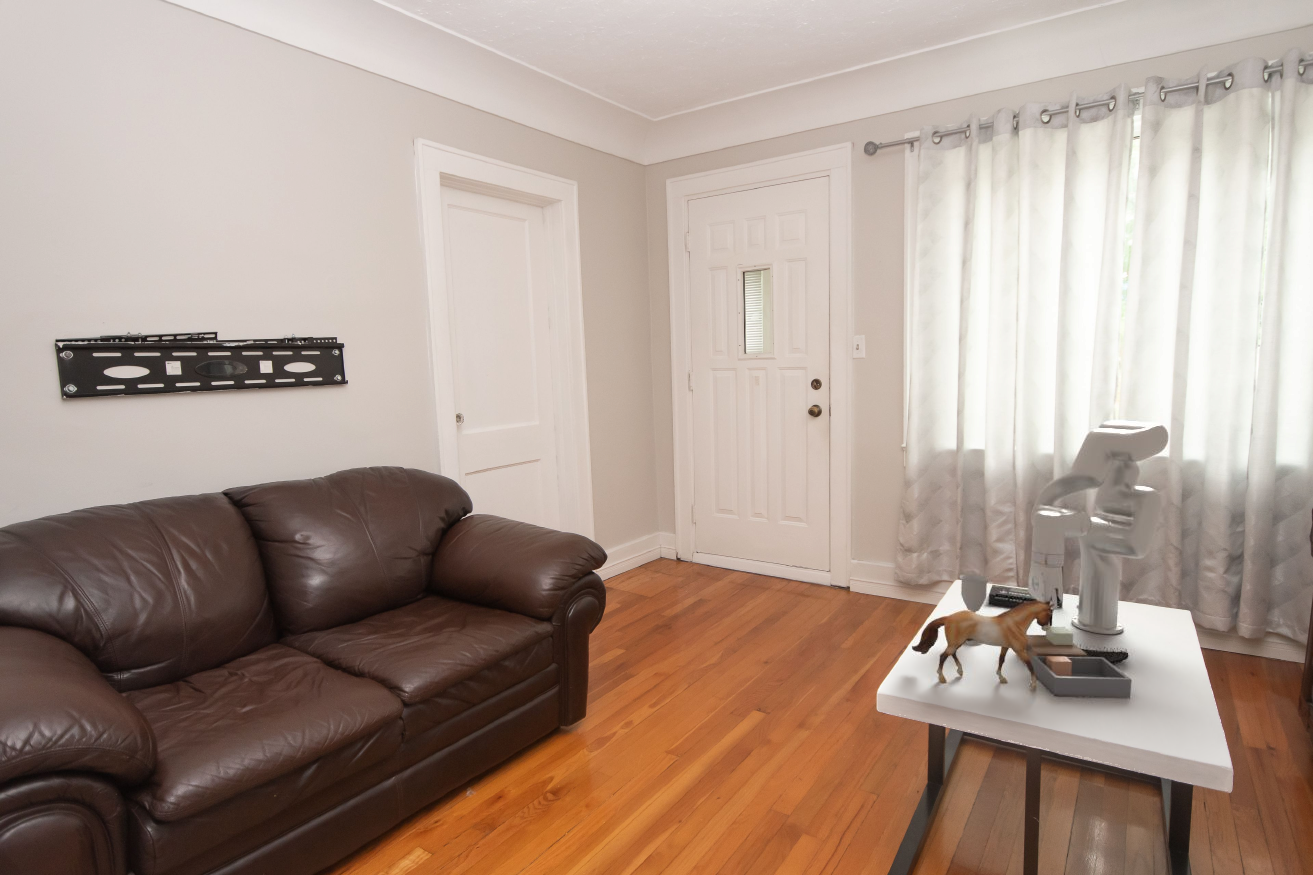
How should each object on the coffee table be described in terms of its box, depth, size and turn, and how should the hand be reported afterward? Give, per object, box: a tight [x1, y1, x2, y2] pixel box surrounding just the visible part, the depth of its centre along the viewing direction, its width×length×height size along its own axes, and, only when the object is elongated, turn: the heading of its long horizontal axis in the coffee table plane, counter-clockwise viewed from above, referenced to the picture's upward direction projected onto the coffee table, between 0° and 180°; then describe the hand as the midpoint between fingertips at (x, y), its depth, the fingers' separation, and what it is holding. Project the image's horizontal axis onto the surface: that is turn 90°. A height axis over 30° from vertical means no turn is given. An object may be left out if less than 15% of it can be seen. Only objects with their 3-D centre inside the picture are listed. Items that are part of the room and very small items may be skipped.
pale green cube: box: [1045, 626, 1074, 645], centre depth 180 cm, size 4×4×3 cm
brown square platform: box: [1025, 634, 1087, 663], centre depth 178 cm, size 12×12×5 cm
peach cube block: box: [1046, 656, 1072, 677], centre depth 169 cm, size 4×4×3 cm
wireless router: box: [988, 566, 1065, 609], centre depth 220 cm, size 20×14×17 cm
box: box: [1032, 656, 1132, 699], centre depth 166 cm, size 12×16×4 cm
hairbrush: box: [1076, 643, 1130, 665], centre depth 184 cm, size 8×4×25 cm
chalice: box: [959, 573, 990, 646], centre depth 192 cm, size 7×7×18 cm
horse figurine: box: [911, 600, 1054, 692], centre depth 168 cm, size 31×8×21 cm, turn 72°
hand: (1044, 624), depth 187 cm, fingers closed
